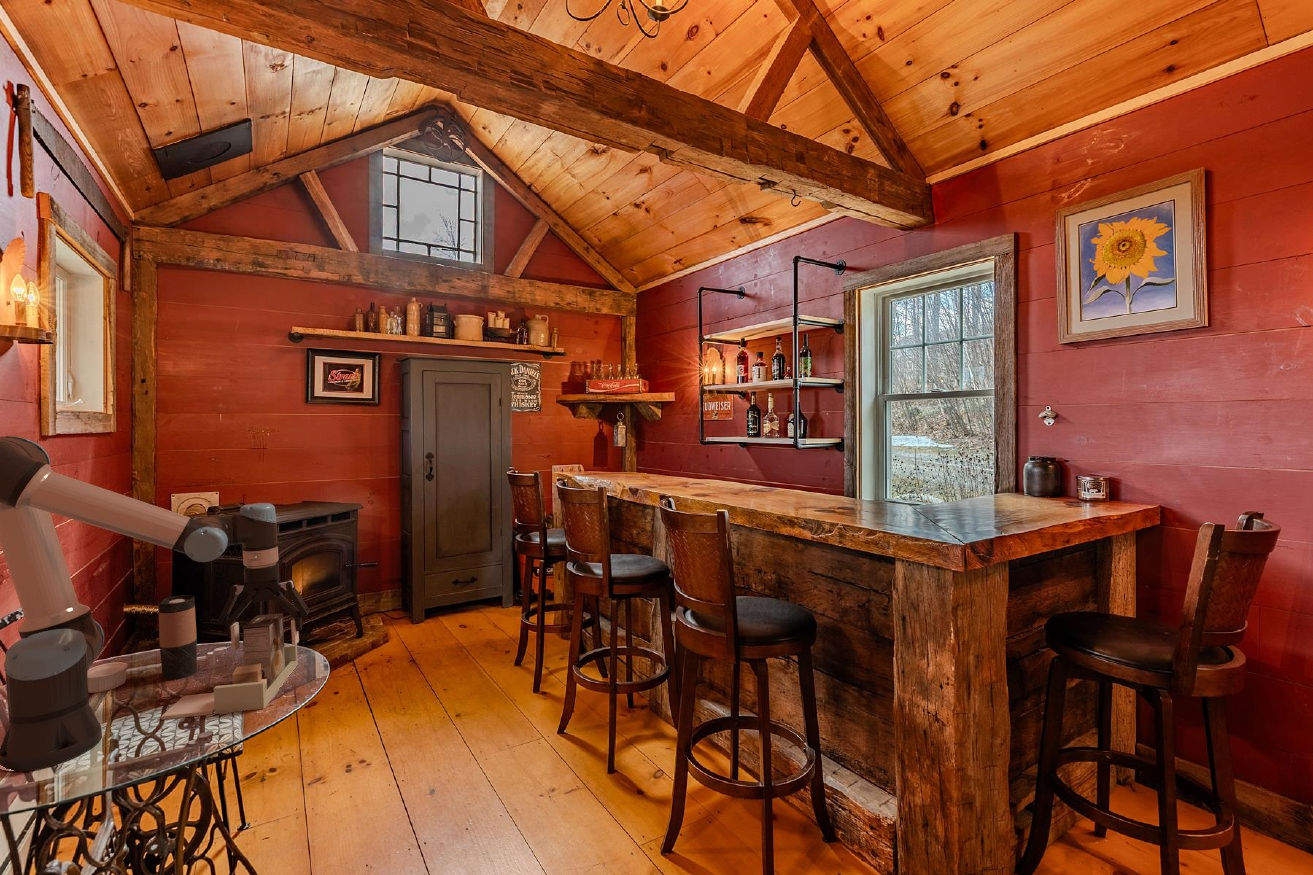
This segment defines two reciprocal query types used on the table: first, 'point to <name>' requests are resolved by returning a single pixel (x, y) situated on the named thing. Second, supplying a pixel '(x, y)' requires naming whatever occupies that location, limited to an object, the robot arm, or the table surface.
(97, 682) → the round wooden block
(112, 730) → the table surface
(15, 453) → the robot arm
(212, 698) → the plate
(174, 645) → the travel mug
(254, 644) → the coffee box
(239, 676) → the offcut top
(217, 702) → the rack
